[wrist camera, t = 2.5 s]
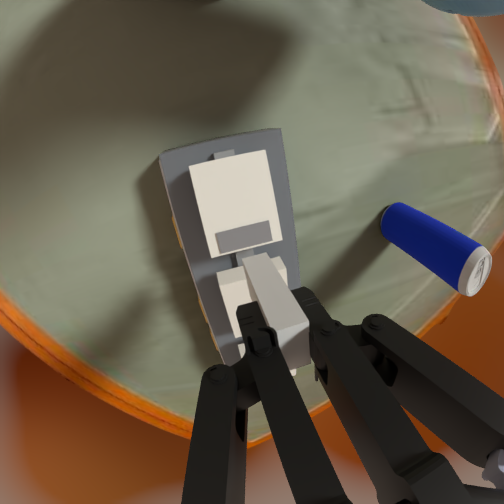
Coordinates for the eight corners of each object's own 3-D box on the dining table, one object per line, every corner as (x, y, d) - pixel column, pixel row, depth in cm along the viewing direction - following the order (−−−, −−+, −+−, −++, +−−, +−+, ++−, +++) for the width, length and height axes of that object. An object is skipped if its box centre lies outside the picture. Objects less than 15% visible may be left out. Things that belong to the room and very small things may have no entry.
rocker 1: (189, 166, 20) (188, 166, 18) (258, 151, 21) (265, 149, 19) (210, 249, 23) (211, 258, 20) (274, 233, 23) (283, 240, 21)
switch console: (159, 152, 23) (152, 156, 19) (267, 128, 24) (283, 128, 20) (225, 361, 36) (230, 386, 32) (296, 341, 37) (308, 364, 33)
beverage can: (405, 233, 33) (486, 288, 20) (377, 242, 33) (459, 306, 19) (407, 197, 31) (497, 244, 18) (377, 205, 30) (472, 259, 17)
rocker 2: (215, 269, 23) (219, 287, 22) (277, 253, 24) (286, 269, 22) (231, 321, 28) (235, 339, 26) (283, 307, 28) (290, 323, 26)
